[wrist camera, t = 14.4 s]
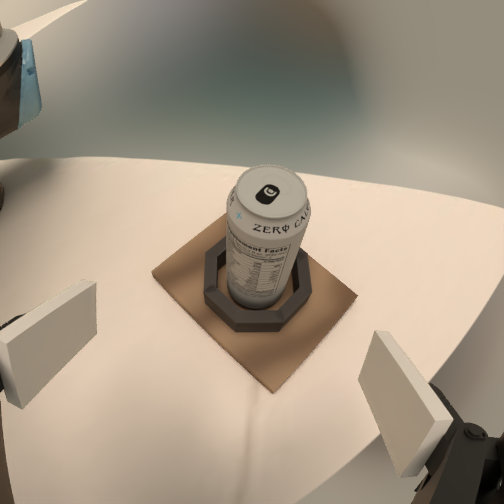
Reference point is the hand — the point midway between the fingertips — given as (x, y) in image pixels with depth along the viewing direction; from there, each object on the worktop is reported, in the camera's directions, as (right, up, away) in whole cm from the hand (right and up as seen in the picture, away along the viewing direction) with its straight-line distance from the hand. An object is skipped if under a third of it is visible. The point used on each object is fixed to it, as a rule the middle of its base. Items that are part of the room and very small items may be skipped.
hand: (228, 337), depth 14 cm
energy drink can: (+1, 0, +20) cm, 21 cm away
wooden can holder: (+1, 0, +21) cm, 21 cm away
